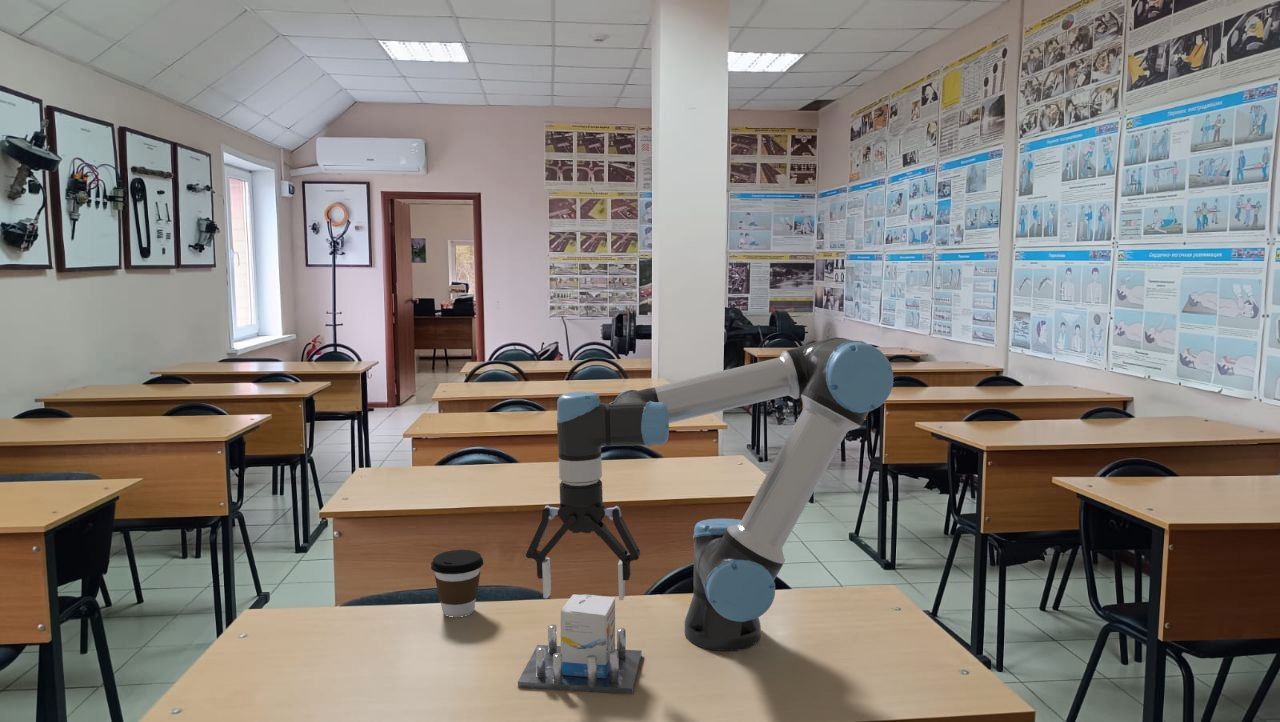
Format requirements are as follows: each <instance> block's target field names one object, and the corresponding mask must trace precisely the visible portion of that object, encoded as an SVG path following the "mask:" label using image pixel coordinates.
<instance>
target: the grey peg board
mask: <svg viewBox="0 0 1280 722" xmlns="http://www.w3.org/2000/svg"><path fill="white" fill-rule="evenodd" d="M557 630H558V629H557V625H556V624H549V625H547V645H546V644H545V645H544V644H537V645H536V647H535V649H534V651H533V653H532V654H531V656H530V658H529V660H528V662H527V664H526V665H525V667H524V670H523V671H522V673H521V675H520V677H519V679H518V680H517V688H523V689H524V688H525V689H540V690H541V689H542V690H556V691H557V690H559V691H575V692H589V693H591V692H592V693H603V694H604V693H605V694H606V693H607V694H622V695H633V693H634V688H635V685H636V679H637V677H638V671H639V667H640V663H641V660H642V650H640V649H639V650H638V649H636V650H635V649H626V644H627V643H626V640H627V639H626V637H627V635H626V628H624V627H618V628H617V629H616V648H615V650H613V651H610V652H609V673H608V675H607V677H606V678H597V657H596V656H595V655H589V656H588V657H587V677H580V676H569V675H562V654H561V645H558V643H557V642H558V641H557V636H558V633H557Z"/></svg>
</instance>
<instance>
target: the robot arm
mask: <svg viewBox="0 0 1280 722" xmlns="http://www.w3.org/2000/svg"><path fill="white" fill-rule="evenodd" d="M893 386H894V371H893V368H892V364H891V362H890V361H889V359H888V357H887V356H886V355H885V354H884V352H882V351H881V350H880V349H878V348H877V347H875V346H873V345H872V344H870V343H867V342H864V341H863V340H851V339H848V338H844V337H828V338H825V339H821V340H818V341H815V342H812V343H809V344H804V345H801V346H798V347H795V348H794V347H793V348H791V349H787V350H783V351H782V352H781V354H780V356H778V357H775V358H771V359H767V360H763V361H758V362H754V363H750V364H746V365H742V366H738V367H732V368H729V369H724V370H721V371H716V372H712V373H708V374H704V375H699V376H695V377H690V378H687V379H682V380H678V381H675V382H669V383H665V384H662V385H657V386H654V387H648V388H645V389H639V390H637V389H628V390H624V391H622V392H621V393H620V394H619V395H617V396H616V397H615V400H614V401H613V403H605V402H603V403H602V402H601V399H600V395H599V394H598V393H597V392H595V391H593V392H592V391H573V392H572V391H571V392H566V393H563V394H561V395H560V396H559V397H558V398H557V401H556V405H557V410H556V413H557V414H556V415H557V416H556V417H557V418H556V427H557V430H556V431H557V446H558V447H557V449H558V479H559V480H560V483H559V506H558V507H554V506H552V505H551V504H546V505H545V507H544V508H543V509H542V511H541V513H542V514H541V521H540V524H539V526H538V528H537V530H536V532H535V534H534V536H533V538H532V540H531V542H530V544H529V547H528V548H527V551H526V554H525V556H526V558H527V559H532V560H534V561H535V562H536V577H537V579H542V590H543V592H542V594H543V595H542V597H543V598H542V599H549V597H550V596H551V594H552V586H551V585H552V582H551V580H552V579H551V578H552V577H551V560H550V557H547V556H548V554H549V553H550V552H551V551H552V549H553V548H554V547H555V546H556V545H557V543H558V542H559V541H560V540H561V539H562V537H564V535H565V534H566V533H567V532H568V531H570V532H572V533H573V534H578V533H584V534H591V533H592V532H594V533H595V534H596V535H597V536H598V537H600V538H601V539H602V541H603V542H604V543H605V544H606V546H608V548H609V549H610V550H611V551H612V552H613V554H614V555H615V556H616V557H617V558H618V559H619V560H618V562H617V574H618V575H617V577H618V579H617V581H618V582H617V583H618V601H624V598H625V595H626V581H629V580H630V578H631V573H632V572H631V562H633V561H638V560H639V558H640V555H641V551H640V548H639V546H638V544H637V543H636V541H635V539H634V537H633V536H632V534H631V531H630V530H629V528H628V525H627V524H626V522H625V520H624V518H623V513H622V508H621V506H620V505H618V504H617V505H614V507H605V506H604V502H603V482H602V480H601V478H602V477H603V468H602V465H603V464H602V447H622V446H623V447H624V446H626V447H628V446H629V447H630V446H633V447H635V446H647V447H650V446H654V445H664V444H665V443H667V442H668V440H669V435H670V424H671V423H677V422H681V421H684V420H685V421H686V420H689V419H694V418H697V417H701V416H705V415H710V414H714V413H720V412H724V411H726V410H732V409H735V408H740V407H745V406H749V405H754V404H758V403H761V402H766V401H770V400H774V399H779V398H783V397H788V396H789V397H790V398H792V399H794V400H798V399H801V401H802V404H803V409H802V410H801V412H800V414H799V416H798V418H797V420H796V421H795V423H794V425H793V427H792V429H791V431H790V433H789V434H788V436H787V438H786V440H785V441H784V444H783V445H782V447H781V448H780V450H779V452H778V454H777V455H776V458H775V459H774V461H773V463H772V465H771V467H770V468H769V469H768V472H767V474H766V475H765V477H764V479H763V481H762V483H761V485H760V486H759V488H758V490H757V491H756V493H755V495H754V497H753V499H752V501H751V502H750V504H749V506H748V508H747V510H746V512H745V513H744V515H743V517H742V519H738V518H737V519H736V518H708V519H704V520H700V521H698V522H697V523H696V524H695V525H694V530H693V536H692V539H693V596H692V598H691V601H690V604H689V607H688V610H687V613H686V616H685V619H684V636H685V637H686V639H687V640H688V641H689V642H691V643H692V644H695V645H696V646H699V647H701V648H704V649H709V650H713V651H714V650H715V651H723V652H724V651H725V652H726V651H737V650H739V651H740V650H743V649H748V648H750V647H752V646H754V645H755V644H757V643H758V642H759V641H760V640H761V637H762V636H761V634H762V632H761V629H762V628H761V627H762V626H761V621H760V617H761V616H763V615H764V614H765V613H767V611H768V610H770V608H771V606H772V605H773V602H774V600H775V596H776V582H775V580H776V578H777V576H778V574H779V573H780V571H781V569H782V567H783V566H784V564H785V560H786V558H785V555H784V552H783V547H784V545H785V543H786V542H787V540H788V538H789V537H790V535H791V533H792V531H793V529H794V528H795V526H796V525H797V522H798V521H799V518H800V517H801V515H802V513H803V511H804V510H805V508H806V506H807V505H808V503H809V501H810V499H811V497H812V495H813V494H814V493H815V490H816V489H817V486H818V485H819V483H820V482H821V479H822V478H823V476H824V474H825V472H826V471H827V469H828V468H829V467H828V466H829V465H830V464H831V461H832V460H833V458H834V456H835V455H836V453H837V451H838V449H839V448H840V445H841V443H842V442H843V440H844V439H845V437H846V435H847V433H848V432H849V431H854V430H856V429H857V430H858V429H860V428H861V427H862V425H863V423H864V421H865V420H866V417H867V416H868V414H869V413H870V412H872V411H874V410H875V409H878V408H879V407H881V406H882V405H883V404H884V403H885V402H886V401H887V399H888V398H889V396H890V395H891V392H892V389H893ZM555 516H558V517H559V519H560V520H561V522H562V523H563V524H562V525H561V526H560V528H558V530H557V531H555V533H554V534H553V536H552V537H551V538H550V539H549V540H548V541H547V543H546V544H545V546H543V548H542V549H541V550H537V549H538V547H539V546H540V543H541V541H542V540H543V537H544V534H545V533H546V531H547V529H548V526H549V524H550V522H551V521H552V520H554V518H556V517H555ZM606 516H607V517H608V518H609V521H613V525H614V526H615V529H616V531H617V532H618V535H619V536H620V538H621V540H622V542H623V544H624V545H625V547H624V546H623V545H622V543H621V542H620V541H619V540H618V539H617V538H616V536H615V535H614V534H613V533H612V531H610V530H609V529H608V527H607V525H606V524H605V523H604V521H602V520H603V519H604V517H606Z"/></svg>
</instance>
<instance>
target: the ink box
mask: <svg viewBox="0 0 1280 722" xmlns="http://www.w3.org/2000/svg"><path fill="white" fill-rule="evenodd" d="M560 646H561V654H562V675H569V676H580V677H587V657H588V656H589V655H595V656H596V657H597V678H606V677H607V675H608V673H609V652H610V651H613V650H615V649H616V597H614V596H604V595H595V594H576V593H575V594H572V595H571V596H570V598H569V599H568V600H567V602H566V603H565V605H564V606H563V607H562V608H561V610H560Z"/></svg>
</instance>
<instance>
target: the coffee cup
mask: <svg viewBox="0 0 1280 722" xmlns="http://www.w3.org/2000/svg"><path fill="white" fill-rule="evenodd" d="M483 565H484V559H483V557H482V555H481V554H480V553H479V552H477V551H474V550H471V549H456V550H454V549H453V550H449V551H444V552H441V553H438V554H436V555H435V556H434V557H433V558H432V561H431V562H430V568H431V570H432V571H433V572H434V579H435V585H436V590H437V595H438V596H437V597H438V600H439V602H440V606H441V611H442V613H443V615H444V614H445V615H448V616H453V617H461V616H465V615H468V614H470V615H472V613H473V612H474V610H475V607H476V600H477V597H478V591H479V585H480V578H481V577H480V575H481V568H482V567H483ZM445 615H444V616H445ZM468 616H469V615H468ZM465 617H466V616H465Z"/></svg>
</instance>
